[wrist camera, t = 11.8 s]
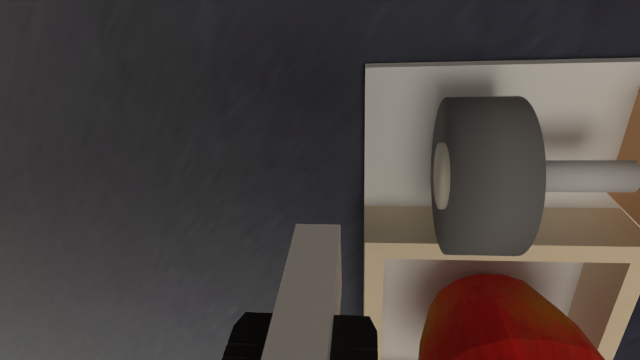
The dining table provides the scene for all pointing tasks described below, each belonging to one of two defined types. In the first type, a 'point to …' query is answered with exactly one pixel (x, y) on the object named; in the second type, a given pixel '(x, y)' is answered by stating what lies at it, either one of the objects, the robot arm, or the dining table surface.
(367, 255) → the chassis
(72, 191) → the dining table surface
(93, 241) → the dining table surface
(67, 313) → the dining table surface
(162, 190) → the dining table surface
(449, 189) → the wheel
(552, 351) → the apple
